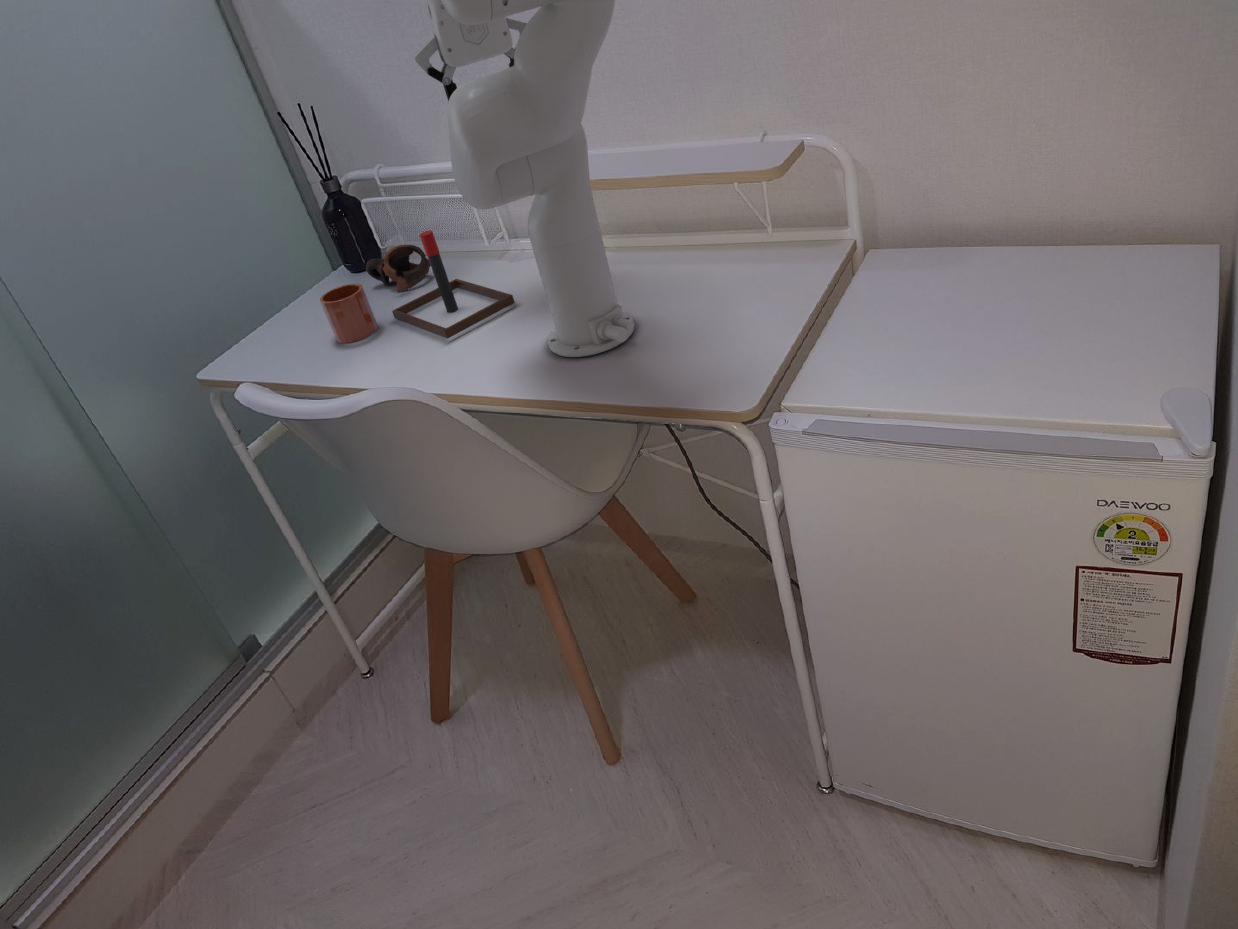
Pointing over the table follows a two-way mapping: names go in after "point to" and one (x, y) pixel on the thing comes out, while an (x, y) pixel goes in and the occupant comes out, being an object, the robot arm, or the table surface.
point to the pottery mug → (399, 267)
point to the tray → (463, 324)
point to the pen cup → (349, 313)
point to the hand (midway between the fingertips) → (490, 100)
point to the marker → (438, 270)
